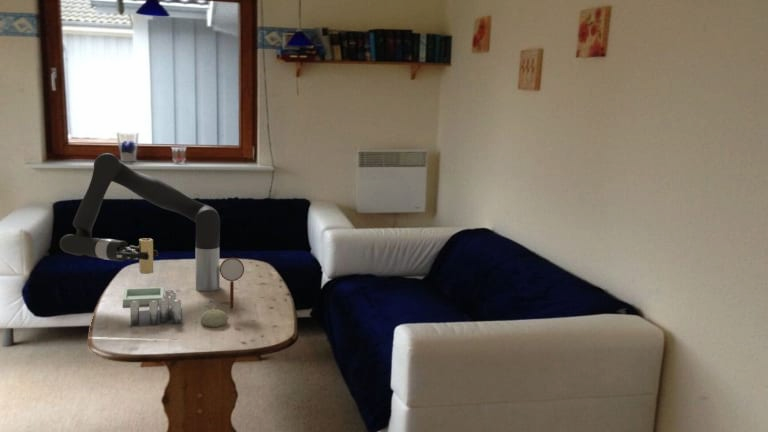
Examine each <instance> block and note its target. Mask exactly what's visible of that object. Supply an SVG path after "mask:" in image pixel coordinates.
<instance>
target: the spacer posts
mask: <svg viewBox="0 0 768 432" xmlns="http://www.w3.org/2000/svg"><path fill="white" fill-rule="evenodd" d="M174 291H175V290H172V289H167V290H165V297H163V298H162V299H159V304H158V301H157V300H151V301H149V305H148V306H149V308H148V309H149V315H150V325H158V310H159V323H167V322H168V320H173V324H180V325H182V324H181V309H182V300H181V299H177V293H176V292H174ZM129 310H130V312H129V313H130V324H131V325H132V326H137V325H139V311H140V305H139V301H137V300H133V301H130V306H129Z"/></svg>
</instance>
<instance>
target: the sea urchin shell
mask: <svg viewBox="0 0 768 432" xmlns="http://www.w3.org/2000/svg"><path fill="white" fill-rule="evenodd" d="M199 321H200V323H201V325H202V326H204V327H209V328H218V327H222V326H224V325H226V324H227V323H228V322H229V317H228V314H226V312H224V311H223V310H220V309H218V308H217V309H215V308H213V309H208V310H205V311H204V312H203V313H202V314H201V316H200V320H199Z"/></svg>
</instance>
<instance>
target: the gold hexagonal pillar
mask: <svg viewBox="0 0 768 432" xmlns="http://www.w3.org/2000/svg"><path fill="white" fill-rule="evenodd" d="M138 247H139V252H140V253H148V254H149V259H148V260H143V259H138V260H139V261H138V262H139V273H140V274H141V275H144V274H145V275H149V274H153V273H154V256H153V250H154V239H152V238H151V237H150V238H149V237H148V238H146V237H145V238H144V237H143V238H139V239H138Z"/></svg>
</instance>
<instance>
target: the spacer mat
mask: <svg viewBox="0 0 768 432" xmlns="http://www.w3.org/2000/svg"><path fill="white" fill-rule="evenodd" d="M175 325H176V326H178V325H184V318H183V308H181V324H173V320H168V322H167V323H159V309H158V325H150V315H149V310H146V309H145V310H139V325H137V326H132V325H131V323H130V324H129V327H130V328H140V327H141V328H143V327H158V326H159V327H160V326H175Z"/></svg>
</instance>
